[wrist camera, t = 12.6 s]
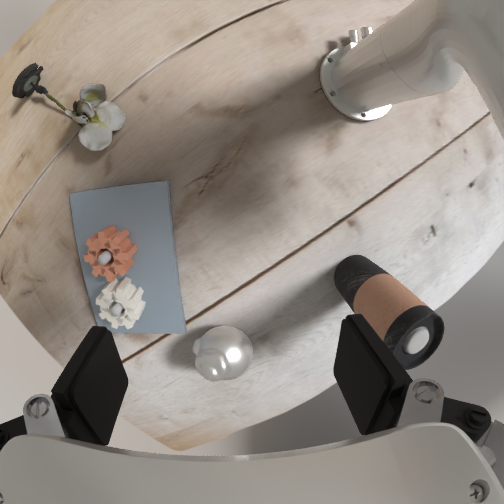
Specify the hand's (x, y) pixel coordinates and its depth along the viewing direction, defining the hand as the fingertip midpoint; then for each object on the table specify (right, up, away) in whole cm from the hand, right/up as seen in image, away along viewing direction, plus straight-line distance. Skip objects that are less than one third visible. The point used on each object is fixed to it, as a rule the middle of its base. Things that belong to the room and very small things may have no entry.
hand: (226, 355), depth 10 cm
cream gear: (-19, -3, +30) cm, 35 cm away
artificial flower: (-26, +27, +21) cm, 44 cm away
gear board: (-18, +2, +30) cm, 35 cm away
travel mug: (+18, 0, +34) cm, 38 cm away
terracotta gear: (-19, +5, +27) cm, 34 cm away
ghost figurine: (-4, -10, +35) cm, 37 cm away
